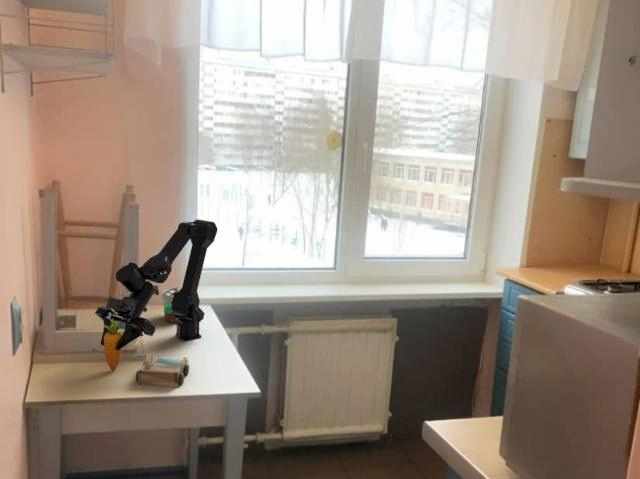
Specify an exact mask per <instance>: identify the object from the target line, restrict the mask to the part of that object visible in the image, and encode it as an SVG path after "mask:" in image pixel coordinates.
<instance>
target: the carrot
mask: <svg viewBox="0 0 640 479" xmlns="http://www.w3.org/2000/svg"><path fill="white" fill-rule="evenodd" d="M111 323H112V325H111V326H110V328H109V327H108V326H107V325H104V324H103V328H104V327H105V328H107V329H108V330H109V333H106V334H105V336H104V346H103V349H104V356H105V359H106V363H107V366H108V367H109V369H110V370H111V371H112V372H114V371H116V369H117V367H118V365H119V363H120V359H121V355H122V348H121V349H120V350H116V349H115V348H116V346H117V344H118V342H119V340H120V338H121V337H122V335H123V333H121V332H119V331H116V329H117V326H118V327H119V322H116V323H115V320H114V319H112V320H111ZM115 331H116V332H115Z"/></svg>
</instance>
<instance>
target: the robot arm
mask: <svg viewBox="0 0 640 479" xmlns="http://www.w3.org/2000/svg"><path fill="white" fill-rule="evenodd" d="M217 233H218V226H217V224H216V222H214V221H210V220H205V219H194V221H186V222H185V221H182V222H180V223H179V224H178V226H177V229H176V230H175V232H173V234H172V236H171V237H170V238H169V239H168V240H167V242H166V243H165V245H164V246H163V247H162V248H161V250H160V251H159V252H158V253H157V254H156V255H153V256H151V257H150V258H149V259H147V260H146V262H144V263H143V265H142V266H138V264H136V262H131V261H129V263H128V264H127V265H123V266H122V267H121V268H120V269H117V271H116V274H115V279H116V281H117V282H118V283H119V284H120V285H121V286H122V287H123V288H124V289H126V290H127V292H130V293H129V295H128V296H124V297H122V298H121V299H120V298H116V297H115V298H114V297H112V296H109V297H108V299H107V302H106V305H105V307H104V306H99V307H98V308H97V309H96V311H95V312H94V314H95V315H96V316H97V317H99V319H100V320H102V321H103V332H102V335H101V338H100V339H101V341H100V345H101V346H102V347H104V336H105V334H106V333H109V330H108V329H107V328H105V327H104V325H107V326H108V327H109V328H110V326H111V325H112V323H111V320H112V319H114V320H115V323H116V322H117V323H121V324H124V331H123V333H122V337H121V338H120V340H119V342H118V344H117V346H116V348H115V349H116V350H120V349H121V348H124V347H125V346H127V345H128V344H130V343H131V342H133V341H135V340H137V339H138V338H140V337H143V336H144V335H146V336H149V337H153V335H154V334H155V332H156V325H154V324H153V323H152V322H151V321H150V320H149V319H147V318H145V317H141V315H142V313H147V311H148V308H147V305H148V304H149V302H150V300H151V298H152V297H153V296H154V295H155V296H159V295H160V290H159V287H158V285H155V284H164V283H165V282H166V281H167V280H168V278H169V276H170V274H171V273H172V265H173V263H174V262H175V260H176V258H177V257H178V256H179V254H180V253H181V252H182V251H183V249H184V248H185V246H186V245H187V244H188V243H189V241H190V243H191V248H190V253H189V257H188V261H187V265H186V270H185V274H184V276H183V282H182V285H181V288H179V290H177V291H178V293H177V292H175V293H174V294H173V300H172V302H171V304H172V306H171V310H172V311H173V315H174V318H178V323H176V333H175V336H177V337H178V338H179V339H180V340H182V341H184V342H185V341H190V340H195V339H196V340H197V339H201V338H202V335H201V334H200V322H201V323H202V321H203V320H204V317H205V314H206V313H205V311H203V310H202V309H201V308H200V300H201V299H200V296H199V293H198V288H199V284H200V282H201V281H200V279H201V276H202V271H203V267H204V263H205V259H206V254H207V251H208V249H209V247H210V246H211V245H212V244H213V243H214V241H215V240H216V236H217ZM151 282H152V283H151ZM153 283H155V284H153ZM119 330H120V327H119V325H118V326H117V329H116V331H115V332H118V331H119ZM121 350H122V349H121Z"/></svg>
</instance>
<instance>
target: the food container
mask: <svg viewBox="0 0 640 479" xmlns="http://www.w3.org/2000/svg"><path fill="white" fill-rule="evenodd" d="M178 291H179V290H178V287H171V288H170V287H169V288H167V289H164V290H163V292H162V294H161V298H160V299H161V300H162V301H163V316H164V320H165V322H167V323H170V324H177V323H178V318H174V315H173V311H172V310H171V306H172V304H171V302H172V300H173V294H174V293H175V292H177V293H178Z"/></svg>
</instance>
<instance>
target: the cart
mask: <svg viewBox="0 0 640 479" xmlns="http://www.w3.org/2000/svg"><path fill="white" fill-rule="evenodd" d="M153 358H154V356H153V355H152V354H149V356H148V357H147V358H146V360H144V362H143V364H142V365H141V366H140V368H139V369H138V370H137V371H136V374H135V381H136V382H137V383H138V384H137V385H141V386H142V385H143V386H156V387H169V388H170V387H172V388H173V387H174V388H178V387H179V385H183V384H184V381H185V375H187V376H188V375H189V373H190V372H189V371H190V364H189V359H187V357H182V359H181V358H180V359H179V358H178V359H177V358H166V357H165V358H162V357H158V358H157V360H156V361H155V363H154V361H153Z"/></svg>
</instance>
